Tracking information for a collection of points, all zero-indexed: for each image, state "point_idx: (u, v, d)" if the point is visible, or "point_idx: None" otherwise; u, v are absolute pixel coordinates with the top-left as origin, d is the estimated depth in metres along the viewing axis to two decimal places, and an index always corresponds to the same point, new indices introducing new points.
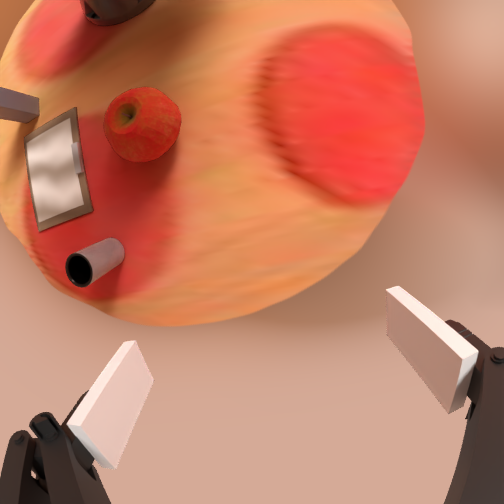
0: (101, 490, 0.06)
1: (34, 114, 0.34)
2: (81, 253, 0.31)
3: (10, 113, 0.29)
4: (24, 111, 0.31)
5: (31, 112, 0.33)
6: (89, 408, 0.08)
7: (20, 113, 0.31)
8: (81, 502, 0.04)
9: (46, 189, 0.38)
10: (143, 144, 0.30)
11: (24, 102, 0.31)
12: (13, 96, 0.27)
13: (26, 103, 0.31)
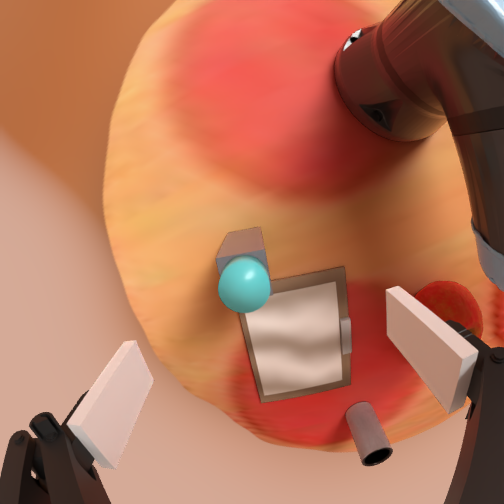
0: (101, 490, 0.06)
1: None
2: (386, 446, 0.28)
3: None
4: None
5: None
6: (89, 408, 0.08)
7: None
8: (81, 502, 0.04)
9: (285, 364, 0.35)
10: None
11: None
12: None
13: None
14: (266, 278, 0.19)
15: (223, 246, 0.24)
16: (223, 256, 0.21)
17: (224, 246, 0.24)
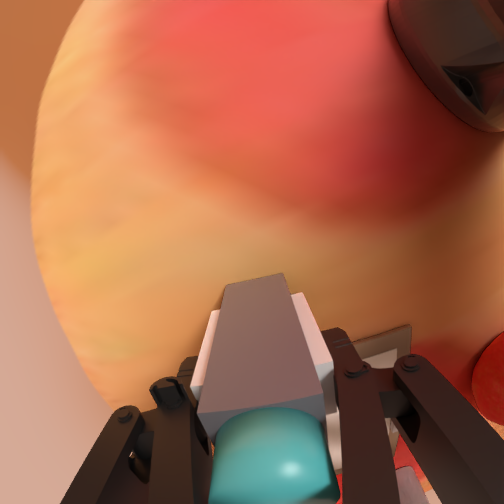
0: (210, 466, 0.07)
1: None
2: None
3: None
4: None
5: None
6: None
7: None
8: (189, 486, 0.05)
9: None
10: None
11: None
12: None
13: None
14: (334, 488, 0.05)
15: (216, 344, 0.11)
16: (216, 407, 0.07)
17: (219, 345, 0.11)
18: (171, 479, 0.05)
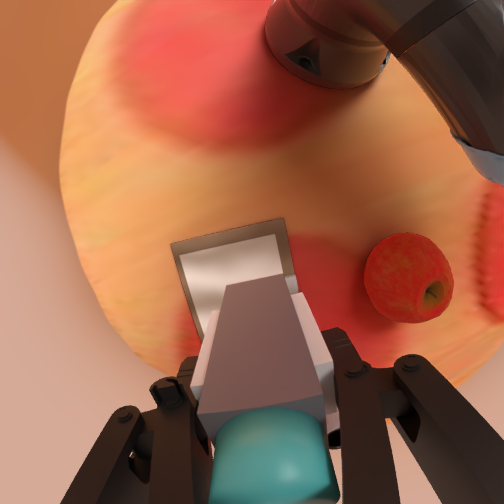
0: (210, 466, 0.07)
1: None
2: None
3: None
4: None
5: None
6: None
7: None
8: (189, 486, 0.05)
9: None
10: None
11: None
12: None
13: None
14: (334, 488, 0.05)
15: (217, 345, 0.11)
16: (216, 408, 0.07)
17: (219, 346, 0.11)
18: (171, 479, 0.05)
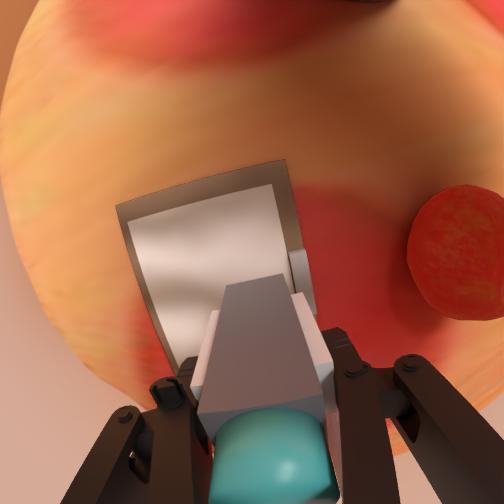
0: (210, 466, 0.07)
1: None
2: None
3: None
4: None
5: None
6: None
7: None
8: (189, 486, 0.05)
9: None
10: None
11: None
12: None
13: None
14: (334, 488, 0.05)
15: (217, 345, 0.11)
16: (216, 407, 0.07)
17: (219, 346, 0.11)
18: (171, 479, 0.05)
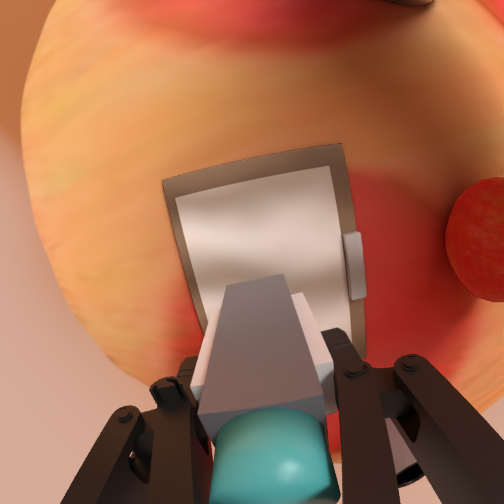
0: (210, 466, 0.07)
1: None
2: None
3: None
4: None
5: None
6: None
7: None
8: (189, 486, 0.05)
9: None
10: None
11: None
12: None
13: None
14: (334, 488, 0.05)
15: (217, 345, 0.11)
16: (216, 408, 0.07)
17: (219, 346, 0.11)
18: (171, 479, 0.05)
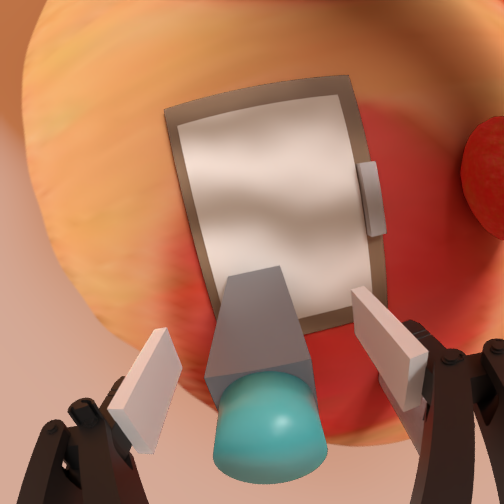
0: (136, 480, 0.07)
1: None
2: None
3: None
4: None
5: None
6: (130, 392, 0.09)
7: None
8: (115, 494, 0.05)
9: (264, 260, 0.19)
10: None
11: None
12: None
13: None
14: (321, 440, 0.07)
15: (220, 324, 0.13)
16: (220, 372, 0.09)
17: (222, 325, 0.13)
18: (100, 490, 0.05)
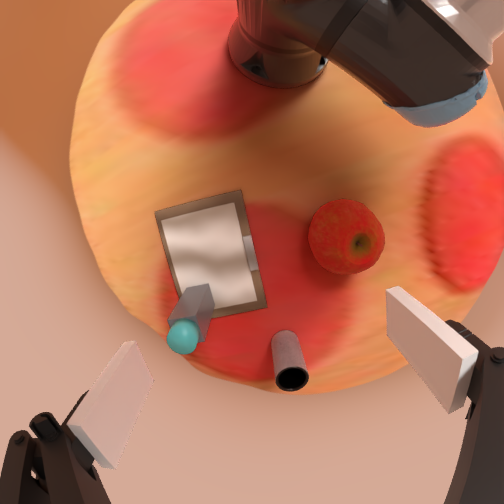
0: (101, 490, 0.06)
1: (212, 308, 0.42)
2: (298, 366, 0.35)
3: None
4: (210, 316, 0.39)
5: (212, 310, 0.41)
6: (89, 408, 0.08)
7: None
8: (81, 502, 0.04)
9: (201, 280, 0.42)
10: (365, 269, 0.35)
11: (207, 305, 0.39)
12: (203, 311, 0.36)
13: (208, 304, 0.39)
14: (193, 336, 0.30)
15: (176, 306, 0.36)
16: (172, 318, 0.32)
17: (176, 306, 0.36)
18: (66, 499, 0.04)
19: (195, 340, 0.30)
